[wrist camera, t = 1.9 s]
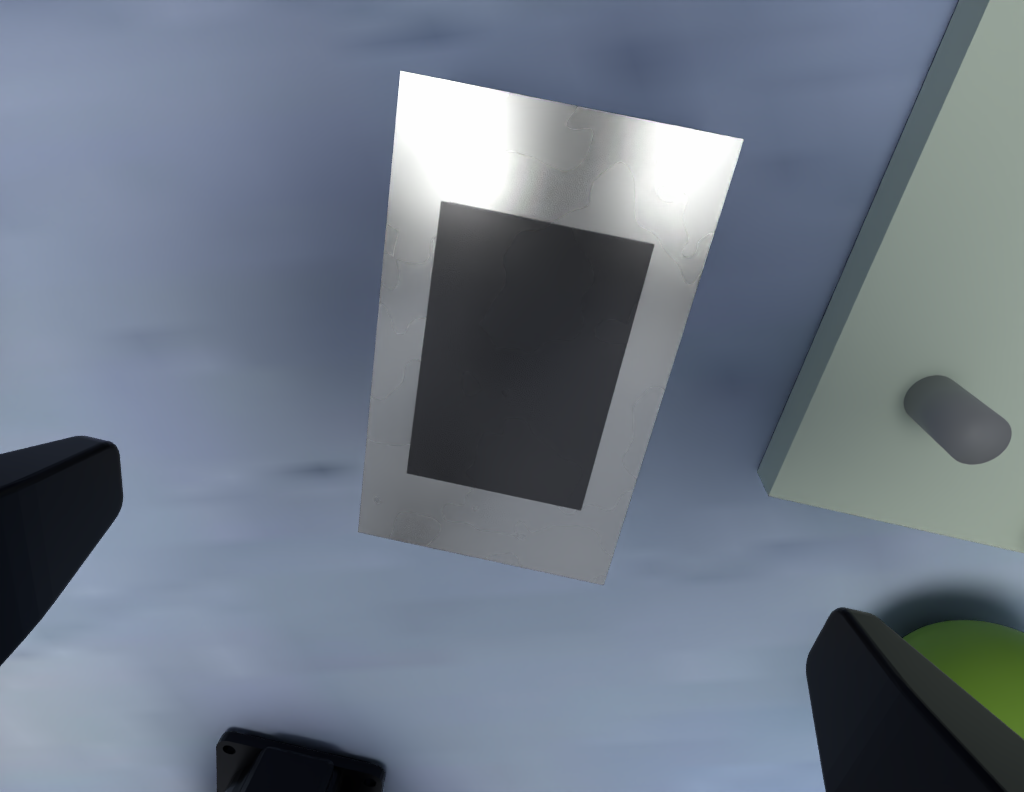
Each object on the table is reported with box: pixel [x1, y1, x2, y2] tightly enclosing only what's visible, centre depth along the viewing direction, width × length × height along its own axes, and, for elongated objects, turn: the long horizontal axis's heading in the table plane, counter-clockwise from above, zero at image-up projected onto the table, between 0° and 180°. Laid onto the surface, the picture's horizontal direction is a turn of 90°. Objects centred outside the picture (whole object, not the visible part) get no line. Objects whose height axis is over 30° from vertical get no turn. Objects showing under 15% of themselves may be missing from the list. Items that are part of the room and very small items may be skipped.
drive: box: [358, 71, 744, 585], centre depth 15 cm, size 10×6×4 cm, turn 170°
